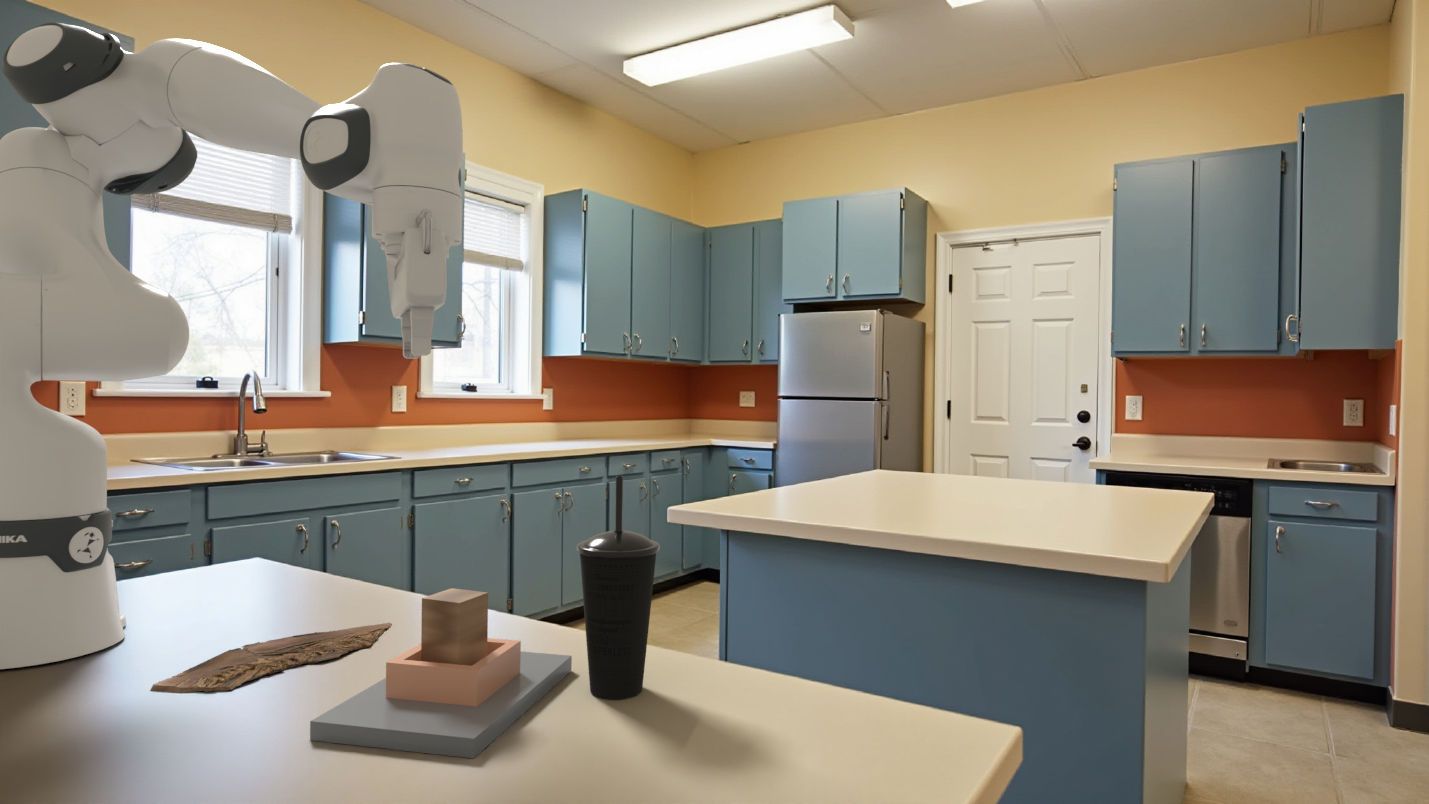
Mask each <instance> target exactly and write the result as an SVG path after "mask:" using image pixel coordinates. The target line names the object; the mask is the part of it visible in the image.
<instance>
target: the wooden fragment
mask: <svg viewBox="0 0 1429 804" xmlns="http://www.w3.org/2000/svg"><path fill="white" fill-rule="evenodd" d="M392 624H393V623H391V622H383V623H377V624H372V625H370V624H369V625H363V626H358V627H357V626H356V627H349V628H345V629H338V630H331V631H322V632H320V631H317V632H311V633H305V634H297V635H296V634H295V635H292V636H287V637H282V638H278V639H270V640H267V641H264V642H263V641H262V642H260V641H258V642H255V643H249V644H245V645H243V646H241V647H237V648H234V649H229V650H226V651H224V652H222V653H219V654H217V655H215V656H214V657H211V658H210V659H207V660H206V661H203V662H202V663H198V664H197V665H194V666H192V667H190V668H188V669H186V670H184V671H182V672H180V673H178V674H175V675H173V676H172V677H169V678H165V679H162V680H161V681H158V682H155V683H154V684H152V686H151V688H150V690H149V691H150V692H152V691H153V692H167V693H174V694H175V693H176V694H182V693H184V692H187V693H191V692H190V691H204V692H205V693H207V692H219V691H231V690H234V689H235V688H237V687H241V685H244V684H245V683H247V682H249V681H253V680H256V679H260V678H261V677H263V676H265V675H267V676H268V675H269V676H271V675H273V674H275V673H279V672H284V671H285V670H288V669H290V668H296V667H298V666H301V665H303V664H304V665H306V664H308V665H312V664H317V663H319V662H322V661H328V660H331V659H332V660H334V659H336V658H340V657H341V656H343V655H346V654H348V653H349V652H353V651H354V650H359V649H365V648H366V649H367V648H370V647H373V646H374V644H375V643H376V642H378V640H379V638H380V637H381V636H382V634H383V633H384V632H385V630H386V629H387V630H389V629H391V627H392Z"/></svg>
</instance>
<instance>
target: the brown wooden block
mask: <svg viewBox="0 0 1429 804" xmlns="http://www.w3.org/2000/svg"><path fill="white" fill-rule="evenodd" d="M488 610H489V592H486V591H479V590H478V591H477V590H472V589H471V590H468V589H463V588H454V587H453V588H452V587H451V588H448V589H446V590H442V591H439V592H436V593H433V594H430V595H427V596H424V597H421V630H420V631H421V643H420V644H421V661H424V662H435V663H447V664H458V665H469V666H472V665H474V664H475V663H477V662H478V661H480V660H481V659H483V658H484V657H486V656H487V638H489V637H488V629H489V627H488V621H489V615H488V613H489V611H488Z"/></svg>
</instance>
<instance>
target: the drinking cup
mask: <svg viewBox="0 0 1429 804" xmlns="http://www.w3.org/2000/svg"><path fill="white" fill-rule="evenodd" d="M623 495H624V476H623V475H615V500H614V501H615V502H614V503H615V504H614V505H615V507H614V508H615V509H614V511H615V514H614V530H609V531H604V532H600V533H598V534H597V533H596V534H595V535H593V536H591V537H589V538H587V539H586V540H582V541H580V542H579V543H577V545H576V551H577V553H579V558H580V560H579V561H580V571H581V585H582V597H583V598H582V599H583V612H584V624H585V625H584V627H585V636H586V637H585V639H586V653H587V663H588V664H587V665H588V679H589V680H588V681H589V691H590V693H591V695H592V696H594V697H596V698H599V699H604V700H625V699H630V698H633V697H637V695H640V694H641V693H642V691H643V685H644V674H645V665H646V657H647V655H646V654H647V647H648V646H647V645H648V635H649V626H650V616H651V607H652V600H653V599H652V598H653V587H654V578H655V569H656V559H657V554H658V552H659V551H660V548H661V546H660V543H659V542H657V541H655V540H652V539H650V538H648V537H647V536H645V535H643V534H641V533H638V532H634V531H629V530H623V514H624V513H623V508H624V507H623V505H624V504H623V503H624V501H623V499H624V498H623V497H624V496H623Z"/></svg>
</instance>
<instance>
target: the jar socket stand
mask: <svg viewBox="0 0 1429 804" xmlns="http://www.w3.org/2000/svg"><path fill="white" fill-rule="evenodd" d="M521 646H522V645H521V640H517V639H516V640H515V639H503V638H492V637H491V638H489V637H488V638H487V656H486V657H484V658H483V659H481V660H480V661H478V662H477V663H475V664H474V665H472V666H469V665H458V664H447V663H435V662H424V661H421V643H418V645H416V646H414V647H412V648H411V649H409V650H406V651H404V652H403V653H401V654H399V655H397V656H395V657H394V658H391V659H390V660H388V661H386V662H385V678H383V679H381V680H379V681H378V682H376V683H374V684H372V685H370V686H369V687H367V688H365V689H364V690H362V691H360V692H358V693H357V694H355V695H354V696H352V697H350V698H348V699H346V700H345V701H343V702H340V704H338V705H336V706H334V707H333V708H331V709H329V710H327V711H326V712H324V713H322V714H320V715H318V716H317V717H315V718H313V719H312V720H310V721H309V722H310V725H309V726H310V728H309V730H310V732H309V736H310V737H309V739H310V741H316V742H324V743H325V742H326V743H331V744H332V743H333V744H342V745H343V744H344V745H351V746H352V745H353V746H361V747H368V748H376V749H377V748H378V749H387V750H394V751H395V750H396V751H404V752H405V751H406V752H413V753H421V754H422V753H423V754H432V755H438V756H450V757H458V758H468V759H475V758H476V757H477V756H478V755H479V754H481V752H483V751H484V750H485V749H486V748H487V747H489V745H491V744H492V743H493V742H494V741H496V739H497V738H498V737H500V736H501V735H502V734H503V733H504V732H505V731H506V730H507V729H508V728H509V727H511V725H513V724H514V723H515V722H516V721H517V720H518V719H519V718H520V717H522V716H523V715H524V714H525V713H526V712H527V711H528V710H530V709H531V708H532V707H533V706H534V705H535V704H536V703H538V702H539V700H540V699H541V698H543V697H544V696H545V695H546V694H548V693H549V692H550V691H551V690H552V689H553V688H554V687H555V686H556V685H557V684H559V683H560V682H561V680H563V679H564V678H565V677H566V676H567V675H568V674H570V673H571V672H572V665H573V664H572V660H573V659H572V656H573V655H570V654H569V655H568V654H567V655H566V654H558V653H557V654H555V653H546V652H545V653H543V652H534V651H533V652H531V651H521V650H522V649H521Z"/></svg>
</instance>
